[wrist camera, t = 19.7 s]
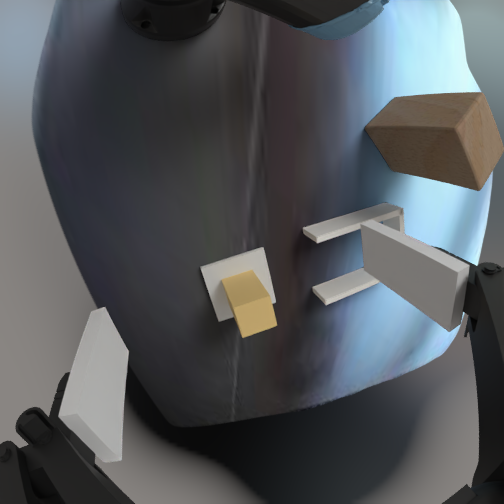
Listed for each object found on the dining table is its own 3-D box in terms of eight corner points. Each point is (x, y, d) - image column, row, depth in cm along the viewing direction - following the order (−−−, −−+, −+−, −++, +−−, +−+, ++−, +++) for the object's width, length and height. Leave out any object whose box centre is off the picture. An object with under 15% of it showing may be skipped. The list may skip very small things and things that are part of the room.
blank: (221, 279, 47) (233, 308, 39) (252, 269, 48) (270, 295, 39) (229, 306, 49) (242, 337, 41) (258, 296, 50) (277, 325, 41)
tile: (200, 266, 46) (200, 268, 45) (262, 246, 48) (263, 248, 47) (218, 319, 50) (218, 321, 49) (274, 300, 51) (276, 302, 51)
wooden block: (391, 172, 49) (480, 193, 31) (362, 127, 45) (455, 130, 27) (419, 139, 49) (505, 150, 31) (394, 96, 45) (483, 90, 27)
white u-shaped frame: (302, 227, 48) (316, 236, 44) (385, 202, 51) (403, 208, 46) (312, 291, 53) (325, 305, 48) (388, 261, 56) (404, 270, 51)
